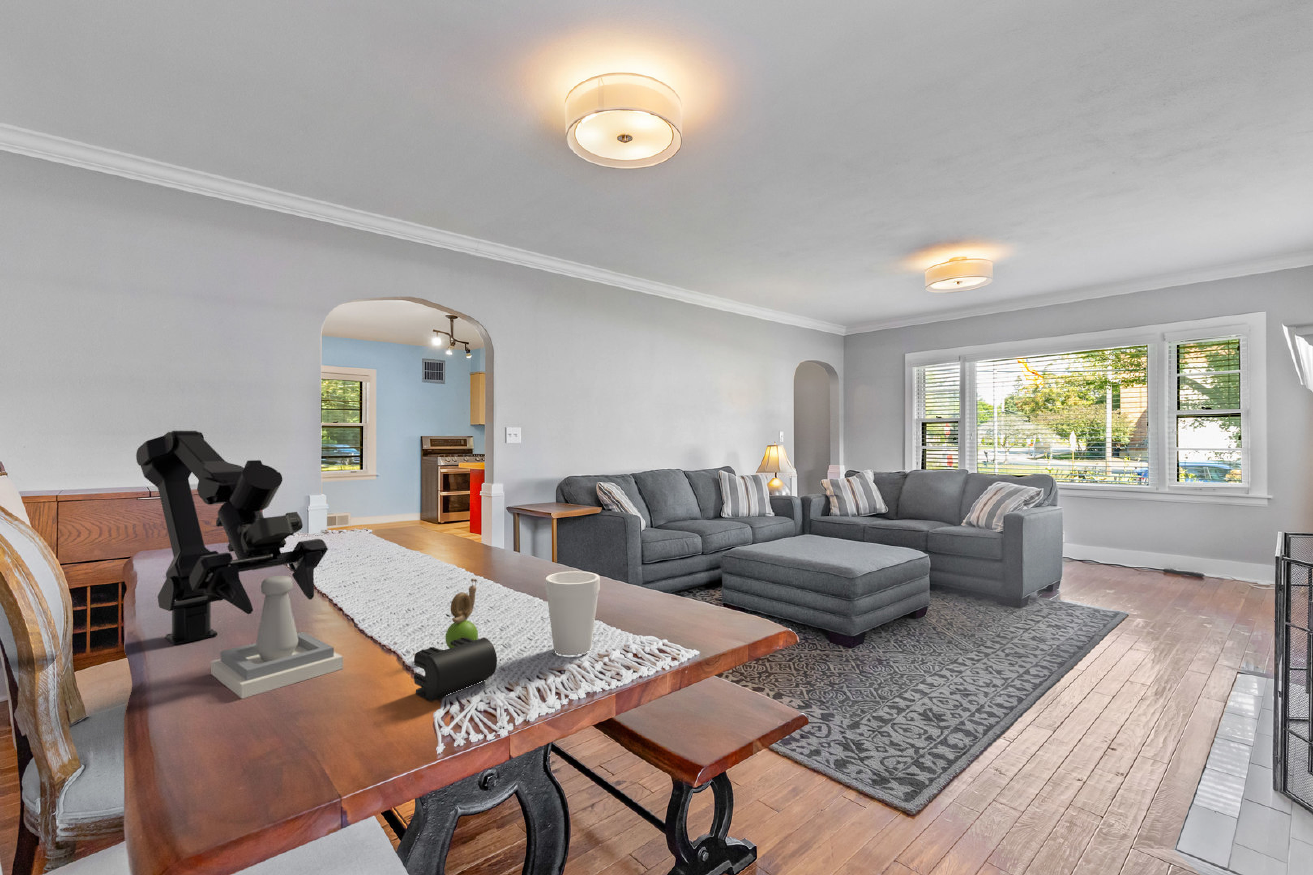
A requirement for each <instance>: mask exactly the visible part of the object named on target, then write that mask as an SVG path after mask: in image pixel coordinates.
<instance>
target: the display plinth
mask: <svg viewBox="0 0 1313 875" xmlns="http://www.w3.org/2000/svg"><path fill="white" fill-rule="evenodd" d="M297 636H298V645H297V646H296V648H295V650H294V652H293V654H292V655H291V656H287V657H284V658H280V659H276V660H272V661H268V662H264V661H262V659H261V657H260V655H259V654H258V653H257V650H256V642H255V643H250V644H246V645H241V646H238V647H234V648H233V647H232V648H229V649H226V650H225V649H224V650H221V651H220V658H218V659H214V660H211V661H210V674H211V675H212V676H213V677H214V678H216V679H217V680H218V681H219V682H220V683H222V684H223V685H224V686H226V688H228V689H229V690H231V691H232V692H233V693H234V694H236V696H238V697H239V698H240V699H246V698H249V697H252V696H256V695H260V694H262V693H266V692H269V691H272V690H276V689H279V688H282V687H286V686H289V685H293V684H296V683H299V682H303V681H306V680H309V679H313V678H316V677H319V676H323V675H327V674H330V673H333V672H338V671H341V670H343V669H344V655H341V654H339V653H338V652H336V651H335V647H333V646H331V645H330V644H328V643H326V642H324V641H323V640H320V639H319V638H316V637H314V636H312V635H311V634H308V633H307V632H305V631H302V632H297Z"/></svg>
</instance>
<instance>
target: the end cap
mask: <svg viewBox="0 0 1313 875" xmlns="http://www.w3.org/2000/svg"><path fill="white" fill-rule="evenodd" d="M450 645H453V646H456V647H453V648H449V647H448V648H447V649H446V648H445V649H441V648H440V649H439V648H437V647H434V646H430V647H428V648H425V649H421V650H420V651H417V652H416V653H415V654H414V657H413V658H414V660H413V663H414V666H416V667H419V668H421V669H422V670H423V671H424V675H422V674H420V673H418V672H414V674H413V675H414V676H413V679H414V680H413V681H414V684H415V685H417V686H419V687H418V688H417V689H415V695H416V696H418V697H420V698H421V699H424V700H426V702H427V701H428V702H429V703H430V702H435V701H437V700H440V699H443V698H445V696H446V695H448V694H450V693H453V692H456V691H458V690H461V689H464V688H466V687H469V686H471V685H474V684H477V683H479V682H481V681H484V680H486V681H487V680H488V679H489V678H491V677H492V676H493V675H494V674H495V672H496V670H497V666H498V656H497V652H496V649H495V647H494V645H493V643H492V642H491V640H490V639H488V638H487V637H482V638H477V640H475V641H474V640H471V639H469V638H466V637H464V638H463V637H462V638H461V639H458V640H454V641H451V642H450ZM484 682H485V681H484ZM479 684H480V683H479ZM477 685H478V684H477ZM474 686H475V685H474ZM471 687H472V686H471ZM469 688H470V687H469ZM466 689H467V688H466ZM464 690H465V689H464ZM461 691H462V690H461ZM458 692H459V691H458ZM456 693H457V692H456ZM453 694H454V693H453ZM448 696H449V695H448ZM446 697H447V696H446Z"/></svg>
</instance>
